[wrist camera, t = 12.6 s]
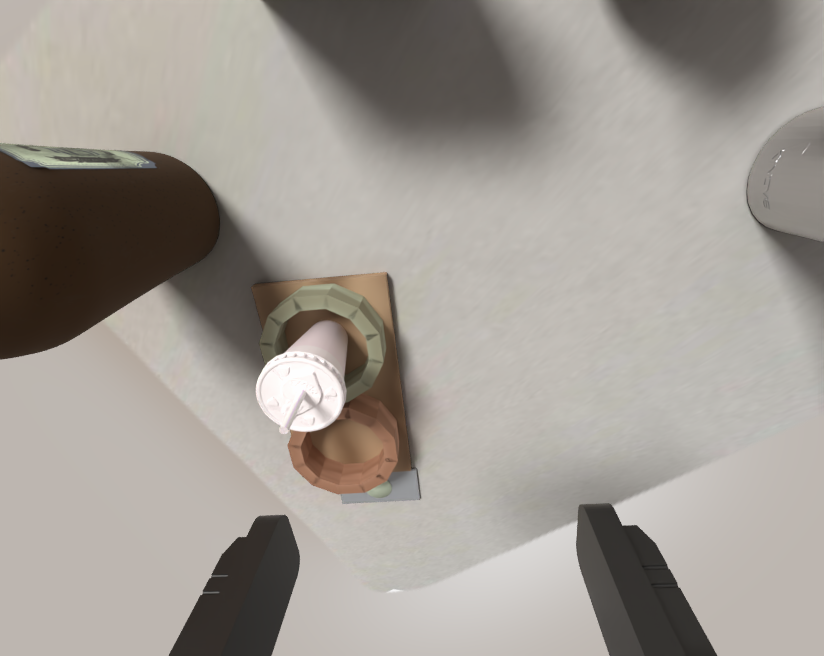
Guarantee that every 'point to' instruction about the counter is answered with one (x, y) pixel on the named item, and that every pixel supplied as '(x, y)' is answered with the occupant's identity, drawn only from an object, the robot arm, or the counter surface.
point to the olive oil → (91, 236)
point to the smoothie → (306, 380)
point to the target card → (389, 489)
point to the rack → (364, 378)
